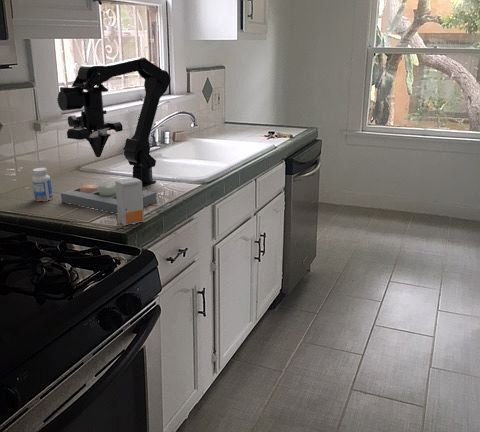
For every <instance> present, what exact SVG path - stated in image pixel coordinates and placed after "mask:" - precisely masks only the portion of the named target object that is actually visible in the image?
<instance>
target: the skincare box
mask: <svg viewBox="0 0 480 432" xmlns="http://www.w3.org/2000/svg"><path fill="white" fill-rule="evenodd" d="M114 182H115V185H116V196H117V210H118V215H117V219H118V220H117V221H119V222H120V223H122V224H123V225H128V224H133V223H138V222H143V223H145V218H144V217H145V215H144V214H145V213H144V207H143V193H142V190H143V186H142V181H141V180H139V179H137V178H133V177H131V178H124V179H121V180H115V181H114ZM119 222H118V223H119ZM120 223H119V224H120ZM122 224H121V225H122ZM138 224H139V223H138ZM123 225H122V226H123ZM133 225H134V224H133ZM128 226H129V225H128Z"/></svg>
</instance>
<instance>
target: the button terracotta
mask: <svg viewBox="0 0 480 432" xmlns="http://www.w3.org/2000/svg"><path fill="white" fill-rule="evenodd" d="M89 184H90V185H88V184H83V185H81V186H79V187H80V192H84V193H89V194H90V193H93V192H96V191H99V189H98V185H93V184H91V183H89Z"/></svg>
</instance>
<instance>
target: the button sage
mask: <svg viewBox="0 0 480 432" xmlns="http://www.w3.org/2000/svg"><path fill="white" fill-rule="evenodd" d="M98 189H99V196H104V197H111V196H114V195H116V183H115V184H114V183H106V184H105V185H101V186H99V187H98Z"/></svg>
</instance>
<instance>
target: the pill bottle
mask: <svg viewBox="0 0 480 432" xmlns="http://www.w3.org/2000/svg"><path fill="white" fill-rule="evenodd" d="M32 174H33V176H32V177H31V183H32V189H33V194H34V200H35V201H36V202H39V201H43V202H49V201H51V200H52V199H54V195H53V188H52V181H51V177H50V175H48V171H47V168H46V167H35V168H33V169H32ZM48 200H49V201H48Z"/></svg>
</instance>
